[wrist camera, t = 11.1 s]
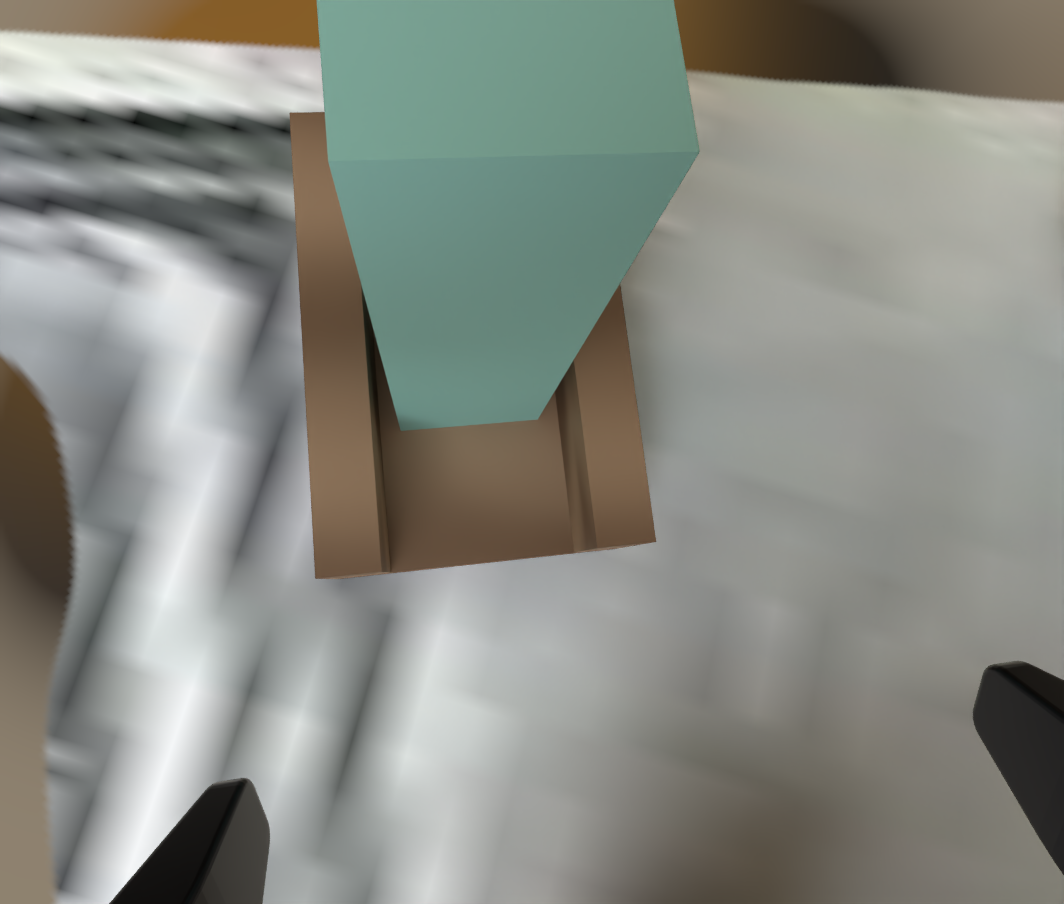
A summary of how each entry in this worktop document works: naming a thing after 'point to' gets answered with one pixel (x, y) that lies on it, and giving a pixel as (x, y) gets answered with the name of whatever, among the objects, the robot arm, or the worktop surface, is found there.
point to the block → (498, 182)
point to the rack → (449, 431)
